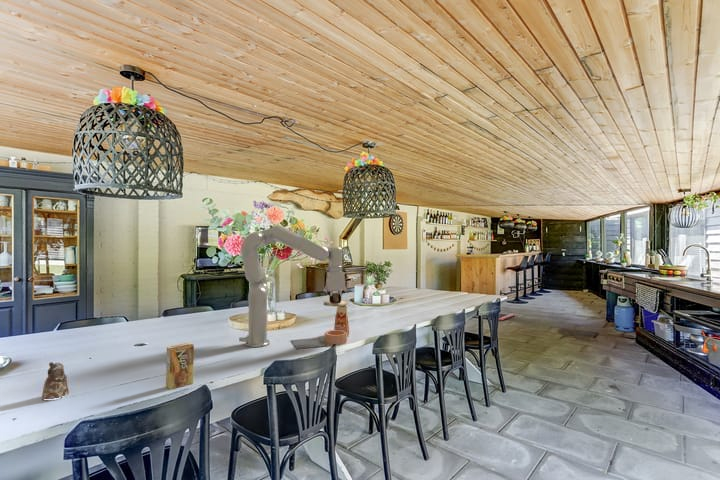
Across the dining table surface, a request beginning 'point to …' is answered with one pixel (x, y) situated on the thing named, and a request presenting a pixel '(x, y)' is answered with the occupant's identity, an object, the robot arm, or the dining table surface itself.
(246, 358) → the dining table surface
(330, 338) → the bowl
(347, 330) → the milk carton
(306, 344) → the mat
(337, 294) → the lid
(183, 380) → the candy box
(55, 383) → the figurine
